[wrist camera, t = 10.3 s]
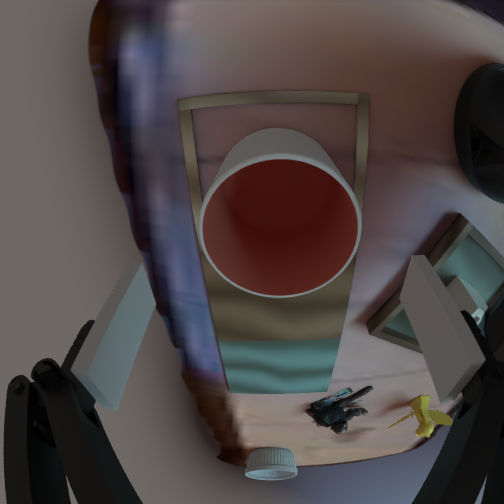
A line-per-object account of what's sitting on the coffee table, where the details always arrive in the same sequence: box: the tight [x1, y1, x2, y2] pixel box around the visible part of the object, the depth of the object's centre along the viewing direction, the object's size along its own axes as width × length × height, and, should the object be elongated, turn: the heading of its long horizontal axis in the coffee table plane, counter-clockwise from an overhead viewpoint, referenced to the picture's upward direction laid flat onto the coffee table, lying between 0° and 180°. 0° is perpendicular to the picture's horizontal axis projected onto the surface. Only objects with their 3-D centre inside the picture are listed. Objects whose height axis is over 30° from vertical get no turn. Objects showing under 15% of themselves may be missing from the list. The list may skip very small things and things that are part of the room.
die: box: [446, 276, 488, 325], centre depth 30 cm, size 6×6×6 cm
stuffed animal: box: [306, 387, 373, 434], centre depth 47 cm, size 12×10×12 cm
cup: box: [198, 128, 362, 298], centre depth 22 cm, size 10×10×10 cm
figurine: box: [388, 395, 453, 437], centre depth 46 cm, size 12×12×9 cm
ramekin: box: [245, 447, 297, 480], centre depth 61 cm, size 13×13×7 cm
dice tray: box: [366, 214, 504, 354], centre depth 32 cm, size 18×18×2 cm
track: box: [178, 91, 369, 394], centre depth 33 cm, size 43×16×1 cm, turn 4°
